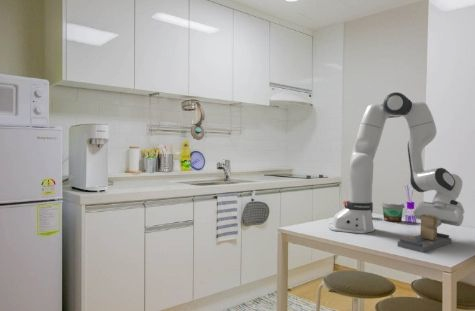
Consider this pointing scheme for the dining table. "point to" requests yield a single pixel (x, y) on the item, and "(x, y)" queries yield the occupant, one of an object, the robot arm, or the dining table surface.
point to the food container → (392, 212)
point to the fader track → (424, 242)
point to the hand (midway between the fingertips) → (431, 228)
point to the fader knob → (428, 227)
